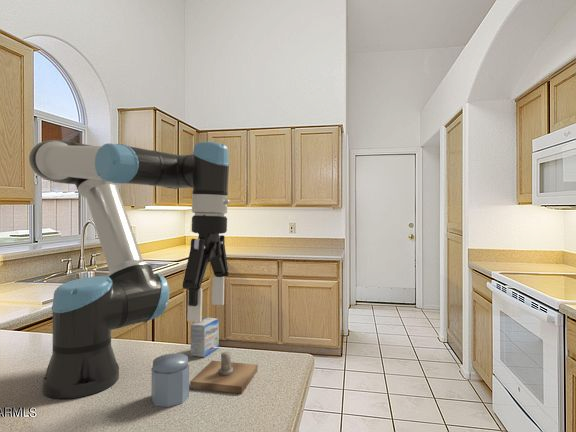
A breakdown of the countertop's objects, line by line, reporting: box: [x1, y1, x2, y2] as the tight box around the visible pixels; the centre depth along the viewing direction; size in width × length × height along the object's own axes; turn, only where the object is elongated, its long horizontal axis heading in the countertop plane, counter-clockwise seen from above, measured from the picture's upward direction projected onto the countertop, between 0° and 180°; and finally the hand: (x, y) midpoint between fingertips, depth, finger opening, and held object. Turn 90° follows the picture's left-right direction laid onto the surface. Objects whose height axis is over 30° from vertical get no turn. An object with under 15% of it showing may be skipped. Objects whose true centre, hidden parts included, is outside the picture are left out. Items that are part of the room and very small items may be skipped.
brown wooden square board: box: [189, 351, 259, 394], centre depth 86 cm, size 12×12×6 cm
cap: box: [150, 353, 190, 408], centre depth 77 cm, size 7×7×8 cm
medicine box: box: [190, 317, 220, 358], centre depth 103 cm, size 8×4×9 cm, turn 161°
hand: (207, 312), depth 80 cm, fingers open, 13 cm apart
